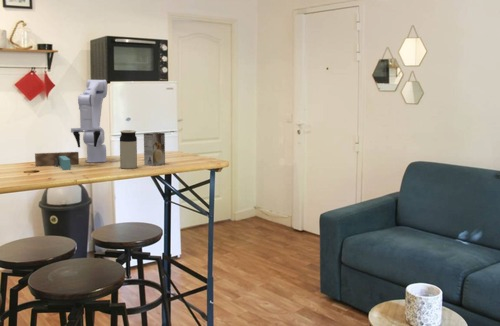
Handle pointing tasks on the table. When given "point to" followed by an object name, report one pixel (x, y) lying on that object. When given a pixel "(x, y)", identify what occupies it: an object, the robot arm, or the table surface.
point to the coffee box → (154, 149)
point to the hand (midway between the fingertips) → (87, 146)
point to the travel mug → (128, 149)
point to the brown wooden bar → (55, 158)
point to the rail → (64, 163)
